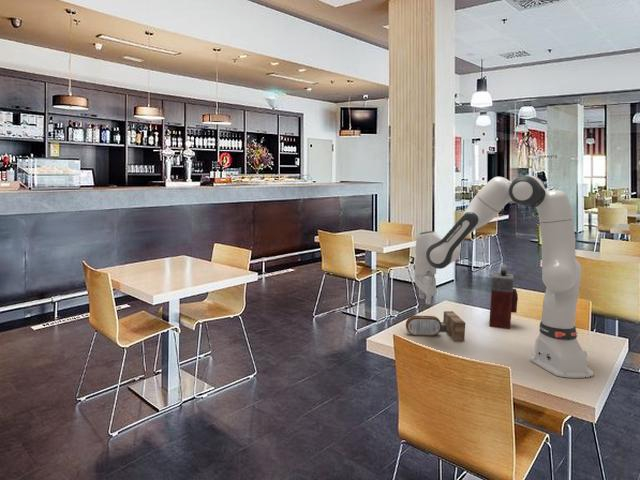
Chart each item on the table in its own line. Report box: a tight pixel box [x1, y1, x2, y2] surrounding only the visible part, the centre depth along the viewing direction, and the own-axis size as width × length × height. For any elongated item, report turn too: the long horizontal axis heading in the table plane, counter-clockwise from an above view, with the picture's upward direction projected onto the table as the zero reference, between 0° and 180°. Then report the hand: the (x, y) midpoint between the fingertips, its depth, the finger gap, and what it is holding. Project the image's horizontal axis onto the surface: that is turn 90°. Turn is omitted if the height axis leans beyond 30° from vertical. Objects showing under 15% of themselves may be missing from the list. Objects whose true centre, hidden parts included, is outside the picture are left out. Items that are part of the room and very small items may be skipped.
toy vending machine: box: [488, 264, 519, 330], centre depth 220 cm, size 9×11×28 cm
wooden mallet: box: [439, 310, 466, 342], centre depth 208 cm, size 16×19×8 cm
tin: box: [405, 314, 442, 337], centre depth 208 cm, size 15×3×8 cm, turn 88°
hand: (424, 300), depth 207 cm, fingers open, 8 cm apart
